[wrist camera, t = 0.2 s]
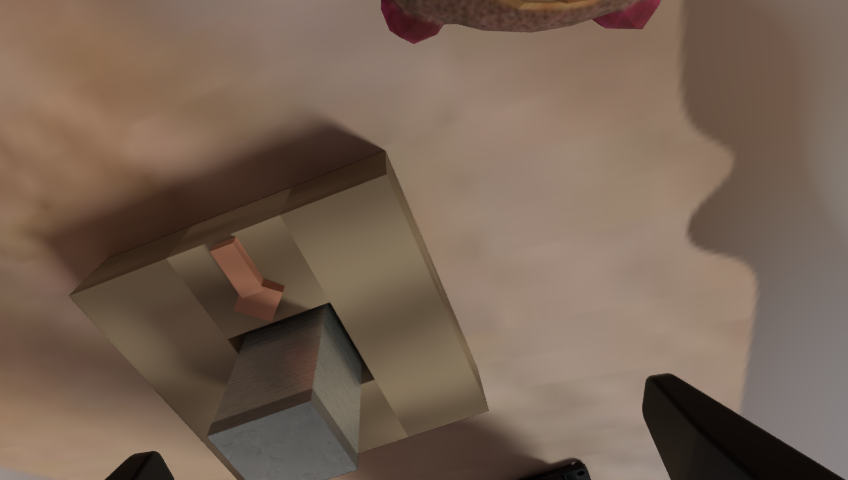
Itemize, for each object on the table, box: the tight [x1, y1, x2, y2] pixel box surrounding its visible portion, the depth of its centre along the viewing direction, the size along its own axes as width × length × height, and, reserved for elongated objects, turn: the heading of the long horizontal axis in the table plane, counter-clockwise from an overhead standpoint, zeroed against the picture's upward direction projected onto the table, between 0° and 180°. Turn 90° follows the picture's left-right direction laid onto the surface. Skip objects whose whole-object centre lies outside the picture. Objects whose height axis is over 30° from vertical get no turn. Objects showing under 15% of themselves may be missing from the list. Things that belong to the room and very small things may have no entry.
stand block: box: [69, 151, 489, 480], centre depth 23 cm, size 14×14×4 cm
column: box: [206, 302, 362, 480], centre depth 21 cm, size 4×4×8 cm
